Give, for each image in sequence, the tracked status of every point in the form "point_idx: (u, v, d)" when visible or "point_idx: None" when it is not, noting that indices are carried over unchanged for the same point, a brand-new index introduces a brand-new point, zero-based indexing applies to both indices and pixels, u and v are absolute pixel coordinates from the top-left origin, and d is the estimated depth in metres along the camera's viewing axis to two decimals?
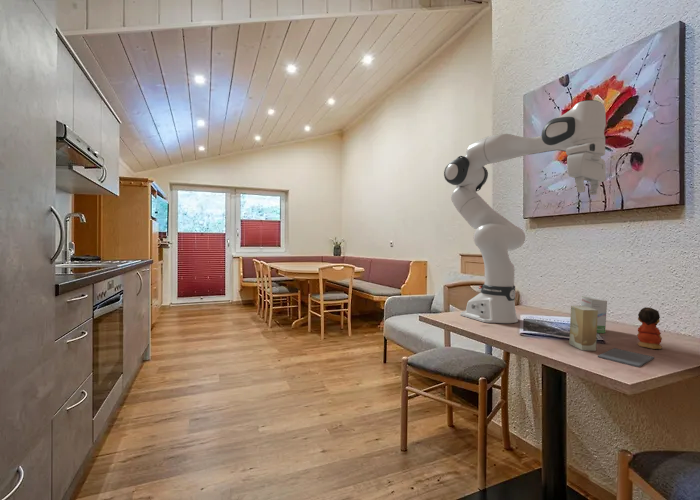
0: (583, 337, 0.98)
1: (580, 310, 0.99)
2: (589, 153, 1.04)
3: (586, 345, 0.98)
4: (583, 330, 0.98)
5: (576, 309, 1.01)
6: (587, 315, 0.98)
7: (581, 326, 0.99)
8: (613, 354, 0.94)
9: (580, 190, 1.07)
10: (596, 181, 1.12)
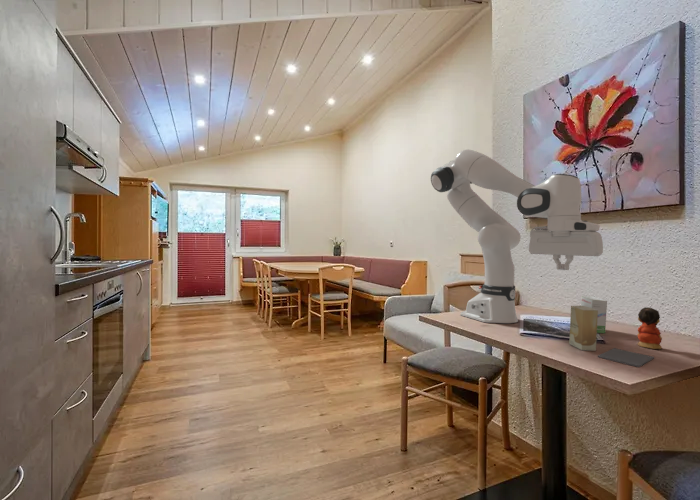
0: (583, 337, 0.98)
1: (580, 310, 0.99)
2: None
3: (586, 345, 0.98)
4: (583, 330, 0.98)
5: (576, 309, 1.01)
6: (587, 315, 0.98)
7: (581, 327, 0.99)
8: (613, 354, 0.94)
9: (567, 268, 1.05)
10: (560, 255, 1.07)
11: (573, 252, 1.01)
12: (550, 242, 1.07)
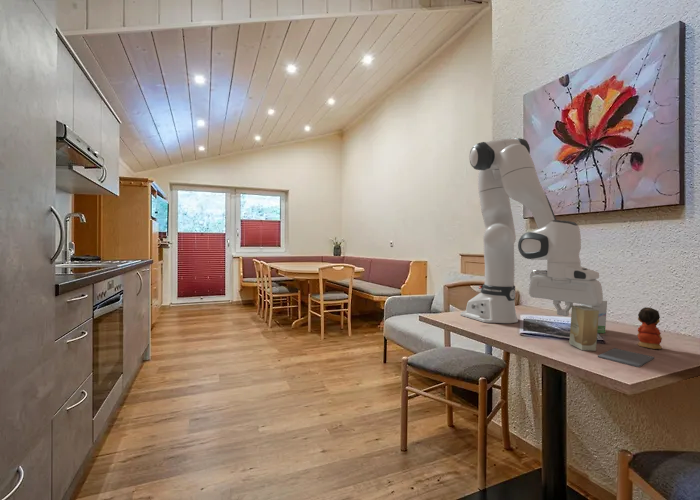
0: (584, 337, 0.98)
1: (581, 310, 0.99)
2: None
3: (586, 345, 0.98)
4: (584, 330, 0.98)
5: (577, 309, 1.01)
6: (588, 315, 0.98)
7: (582, 326, 0.99)
8: (613, 354, 0.94)
9: (567, 314, 1.05)
10: (560, 300, 1.07)
11: (573, 299, 1.02)
12: (550, 287, 1.07)
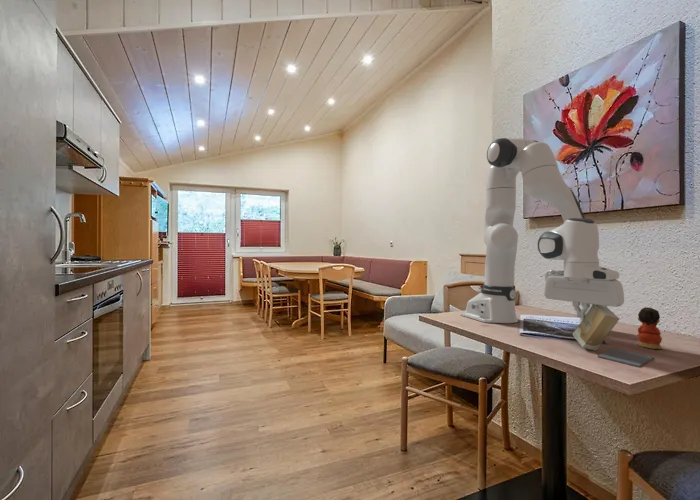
0: (591, 338, 0.97)
1: (602, 313, 0.95)
2: None
3: (589, 344, 0.98)
4: (594, 332, 0.96)
5: (598, 310, 0.96)
6: (606, 320, 0.94)
7: (594, 328, 0.96)
8: (613, 354, 0.94)
9: (584, 316, 1.01)
10: (580, 302, 1.02)
11: (592, 301, 0.97)
12: (567, 288, 1.03)
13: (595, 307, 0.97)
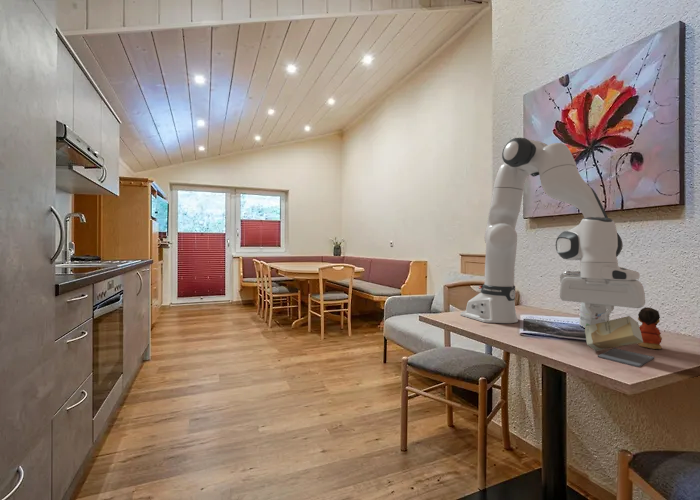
0: (601, 342, 0.95)
1: (631, 331, 0.89)
2: None
3: (595, 345, 0.97)
4: (609, 340, 0.93)
5: (629, 325, 0.90)
6: (629, 338, 0.90)
7: (612, 337, 0.93)
8: (613, 354, 0.94)
9: (608, 319, 0.96)
10: (592, 303, 0.99)
11: (611, 302, 0.93)
12: (584, 289, 0.99)
13: (628, 321, 0.91)
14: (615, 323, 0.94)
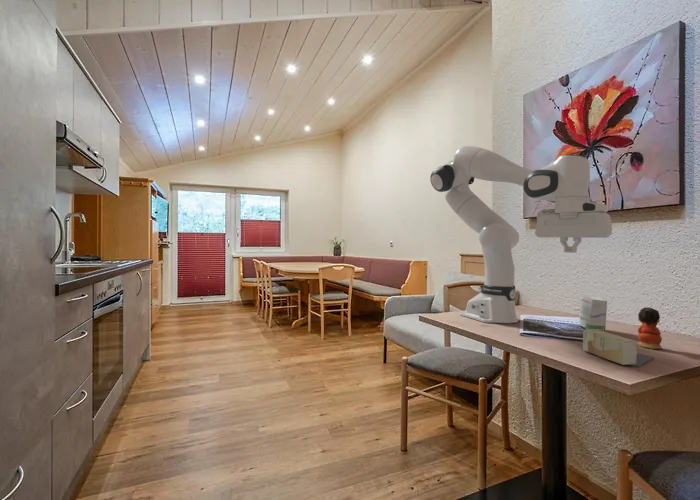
0: (595, 354, 0.94)
1: (620, 359, 0.86)
2: None
3: None
4: (602, 356, 0.92)
5: (620, 352, 0.86)
6: None
7: (604, 356, 0.91)
8: None
9: (575, 251, 1.03)
10: (567, 238, 1.05)
11: (581, 234, 1.00)
12: (557, 224, 1.05)
13: (620, 347, 0.86)
14: (609, 343, 0.89)
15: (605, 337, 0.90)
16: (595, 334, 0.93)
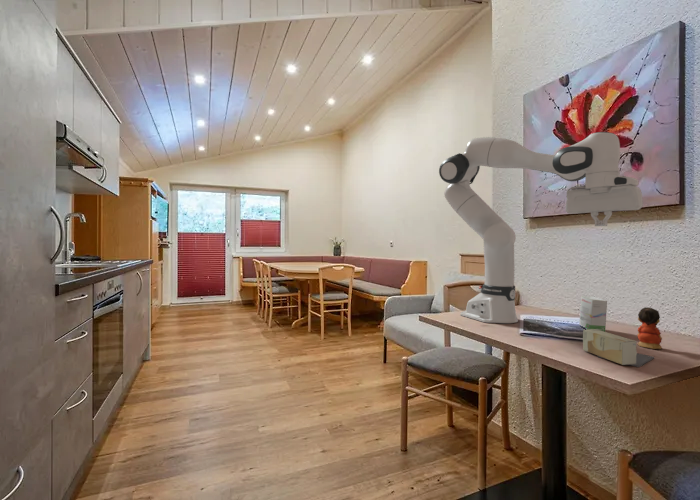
0: (595, 354, 0.94)
1: (620, 359, 0.86)
2: None
3: None
4: None
5: (620, 352, 0.86)
6: None
7: (604, 356, 0.91)
8: None
9: (606, 224, 1.08)
10: None
11: (612, 207, 1.05)
12: (588, 200, 1.10)
13: (620, 347, 0.86)
14: (609, 343, 0.89)
15: (605, 337, 0.90)
16: (595, 334, 0.93)
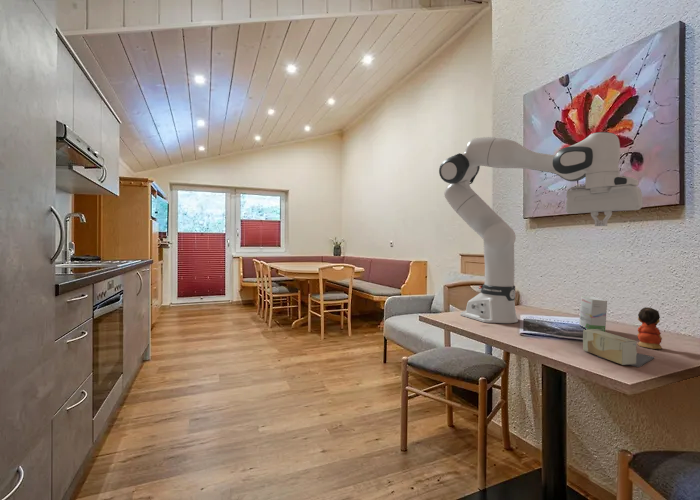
0: (595, 354, 0.94)
1: (620, 359, 0.86)
2: None
3: None
4: None
5: (620, 352, 0.86)
6: None
7: (604, 356, 0.91)
8: None
9: (606, 224, 1.08)
10: None
11: (612, 207, 1.05)
12: (588, 200, 1.10)
13: (620, 347, 0.86)
14: (609, 343, 0.89)
15: (605, 337, 0.90)
16: (595, 334, 0.93)
